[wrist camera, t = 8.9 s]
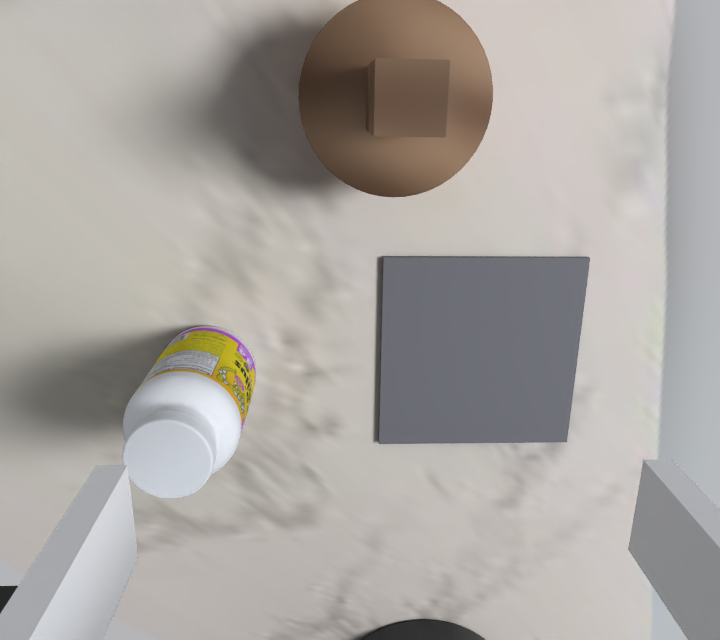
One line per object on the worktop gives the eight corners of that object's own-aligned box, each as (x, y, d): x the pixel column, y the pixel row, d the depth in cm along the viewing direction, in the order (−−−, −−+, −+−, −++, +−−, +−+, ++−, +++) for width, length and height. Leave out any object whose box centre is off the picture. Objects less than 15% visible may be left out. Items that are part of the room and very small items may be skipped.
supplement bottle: (254, 413, 47) (227, 521, 35) (161, 405, 47) (101, 512, 35) (261, 326, 45) (235, 410, 33) (164, 316, 45) (101, 397, 33)
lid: (480, 195, 38) (518, 219, 30) (300, 193, 37) (292, 216, 30) (495, -3, 35) (542, -32, 27) (298, -8, 34) (289, -40, 26)
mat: (564, 439, 49) (566, 442, 49) (378, 441, 48) (379, 443, 48) (587, 256, 45) (589, 258, 44) (383, 256, 44) (383, 257, 44)
